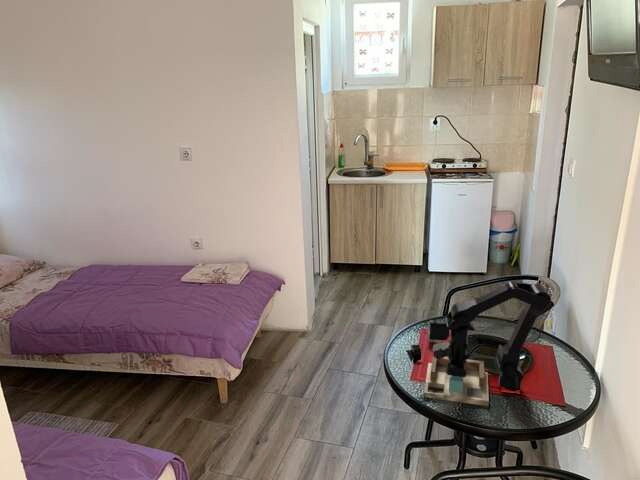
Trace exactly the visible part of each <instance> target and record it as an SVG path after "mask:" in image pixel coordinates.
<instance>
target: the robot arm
mask: <svg viewBox="0 0 640 480" xmlns="http://www.w3.org/2000/svg"><path fill="white" fill-rule="evenodd" d="M512 299H516V300H518V301H521V302H524V304H523V305H524V307H523V310H522V312H521V314H520V316H519V318H518V321H517V323H516V324H515V327H514V329H513V331H512V334H511V335H510V337H509V340H508V342H507V343H506V344H504V345H502V344H499V345H498V349H497V350H496V352H494V353H495V359H496V362H497V364H498V367H499V370H500V373H499V378H498V387H499V386H501V387H504V388H506V389H508V390H511V391H516V390H521V386H522V381H523V379H524V377H525V375H524V372H523V371H522V368H521V365H520V359H521V358H520V357H521V356H520V355H521V350H522V348H523V347H524V344H525V343H526V340H527V338H528V336H529V334H530V332H531V330H532V328H533V327H534V324H535V323H536V322H535V321H536V320H537V318H538V317H539V316H540V315H541V314H543V313H544V312H545V311H546V310H547V308H548V307H549V306H550V305H551V303H552V302H551V301H552V298H551V296H550V294H549V293H548V291H547V290H546V289H545V286H543V285H541V284H538V283H535V284H531V283H528V282H515V281H508V282H506V284H504V285H502V286H500V287H498V288H496V289H494V290H492V291H489V292H488V293H486V294H484V295H481V296H479V297H477V298H475V299H471V300H463V301H460V302H457V303H456V302H455V304H453V305H452V306H451V309H450V311H449V312H448V313H447V314H446V315H445V316H444V320H435V319H430V320H429V323H428V326H427V327H428V328H427V331H428V336H427V338H428V341H429V340H443V341H444V342H443V341H442V342H441V343H435V344H433V346H432V352H433V355H432V357H433V356H434V357H435V358H436V359H441V358H444V357H448V359H449V360H450V361H451V362H450V361H448V365H447V374H448V375H451V376H459V377H466V369H467V366H466V362H467V358H468V357H467V353H468V350H469V349H468V347H469V346H468V345H469V344H468V340H469V339H468V337H469V332H472V331H476V330H475V325H474V324H473V323H472V322H473V321H475V319H477V318H478V317H479V315H481V314H482V313H484V312H486V311H489V310H491V309H493V308H494V307H497V306H499V305H501V304H502V303H505V302H507V301H510V300H512ZM448 338H449V340H448Z"/></svg>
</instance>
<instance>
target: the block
mask: <svg viewBox="0 0 640 480" xmlns="http://www.w3.org/2000/svg"><path fill="white" fill-rule="evenodd" d="M449 391H451V392H458V393H462V392H463V377H459V376H451V375H450V379H449Z"/></svg>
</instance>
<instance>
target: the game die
mask: <svg viewBox="0 0 640 480" xmlns="http://www.w3.org/2000/svg"><path fill="white" fill-rule="evenodd" d="M424 334H426V335H427V337H428V330H426V331H424ZM443 341H444V340H429V339H428V342H429V343H431V342H432V343H435V344H437V343H443ZM428 342H427V343H428Z"/></svg>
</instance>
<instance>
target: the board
mask: <svg viewBox="0 0 640 480" xmlns="http://www.w3.org/2000/svg"><path fill="white" fill-rule="evenodd" d="M431 365H432V362H428V363H427V369H426V370H427V371H426V377H425V384H424V391H423V398H427V397H429V399H436V400H441V401H449V402H456V403H462V404H463V403H464V404H471V405H478V406H485V407H489V402H490V397H489V377H488V375H489V374H488V373H489V372H485V371H484V387H481V386H479V371H472V370H466V377H463V392H462V393H458V392H451V391H449V379H450V375H448V374H447V367H439V366H436V374H435V380H430V375H431Z"/></svg>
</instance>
